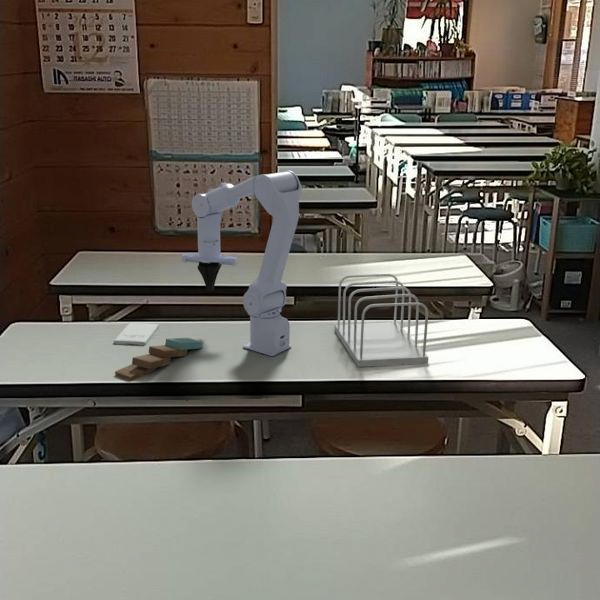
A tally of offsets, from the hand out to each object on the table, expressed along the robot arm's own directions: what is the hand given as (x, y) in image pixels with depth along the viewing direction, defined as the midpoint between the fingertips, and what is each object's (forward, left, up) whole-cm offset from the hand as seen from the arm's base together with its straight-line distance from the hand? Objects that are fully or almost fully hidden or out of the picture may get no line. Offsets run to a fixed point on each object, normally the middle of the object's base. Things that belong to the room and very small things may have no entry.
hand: (210, 290), depth 193 cm
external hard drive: (+11, +16, -11) cm, 23 cm away
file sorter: (-42, -16, -11) cm, 46 cm away
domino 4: (-6, +12, -10) cm, 17 cm away
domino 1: (-6, +28, -10) cm, 30 cm away
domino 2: (-7, +24, -10) cm, 27 cm away
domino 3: (-6, +18, -10) cm, 21 cm away
